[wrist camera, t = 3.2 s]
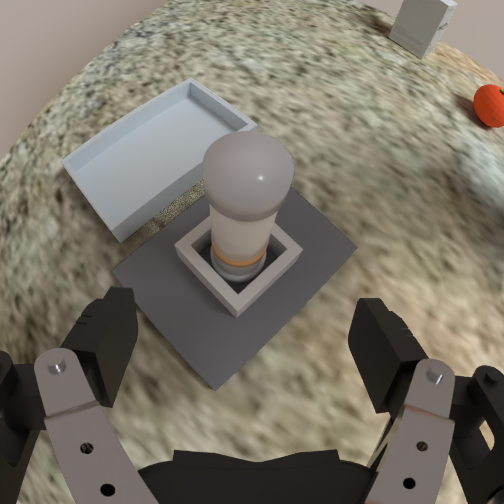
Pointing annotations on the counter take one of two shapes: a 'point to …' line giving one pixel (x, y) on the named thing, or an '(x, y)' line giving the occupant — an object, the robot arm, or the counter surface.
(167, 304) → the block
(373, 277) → the counter surface
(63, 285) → the counter surface
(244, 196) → the white bottle
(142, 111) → the tray
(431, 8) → the supplement box
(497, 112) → the clementine
